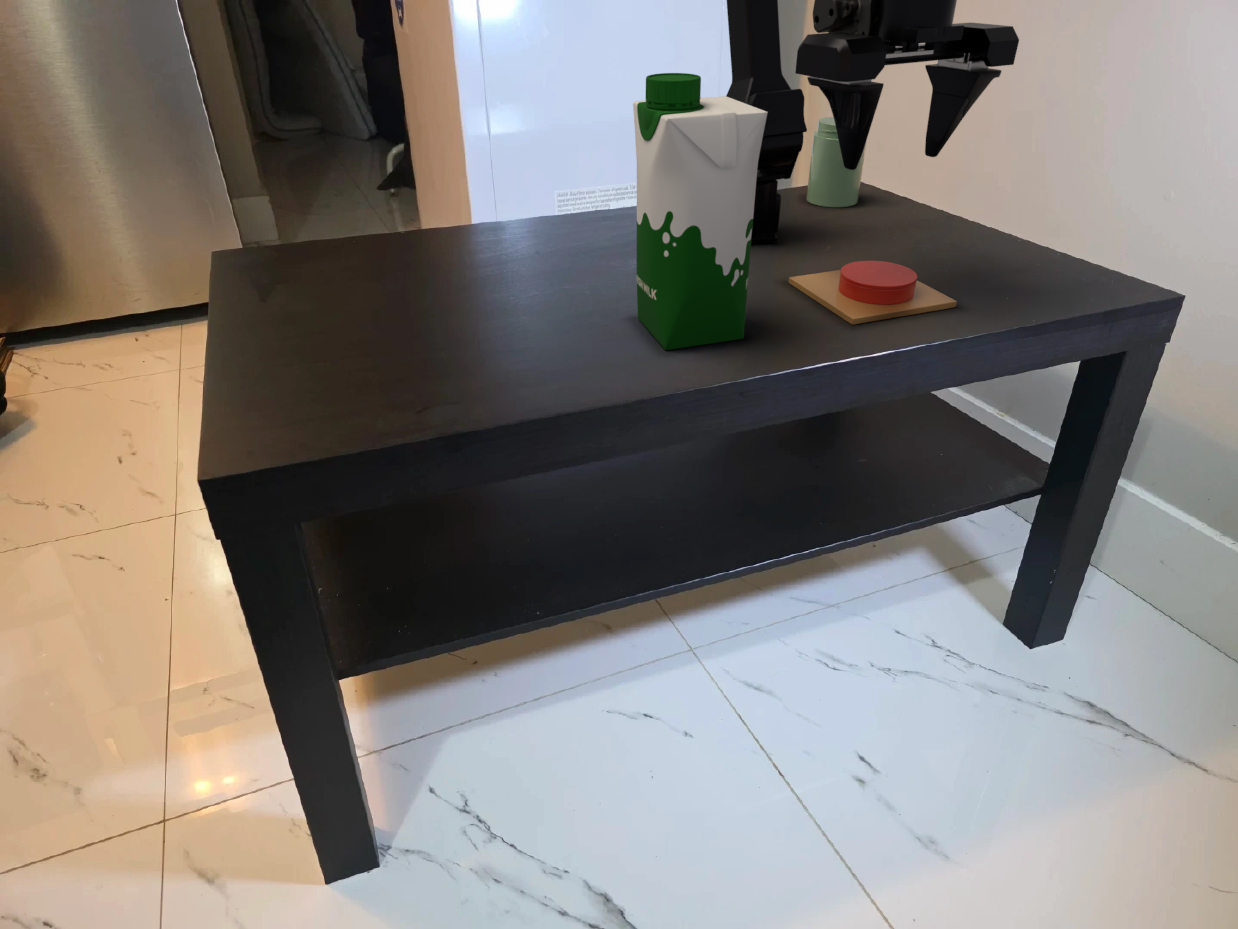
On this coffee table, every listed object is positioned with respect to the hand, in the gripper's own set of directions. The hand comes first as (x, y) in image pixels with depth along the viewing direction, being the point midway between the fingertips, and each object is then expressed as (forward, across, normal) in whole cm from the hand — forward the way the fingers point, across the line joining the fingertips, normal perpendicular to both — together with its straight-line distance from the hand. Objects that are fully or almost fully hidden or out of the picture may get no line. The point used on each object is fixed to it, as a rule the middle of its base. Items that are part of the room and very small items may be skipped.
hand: (891, 162), depth 70 cm
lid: (+10, 0, +1) cm, 10 cm away
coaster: (+12, 0, 0) cm, 12 cm away
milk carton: (+12, +19, -2) cm, 23 cm away
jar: (+12, -18, -27) cm, 35 cm away
